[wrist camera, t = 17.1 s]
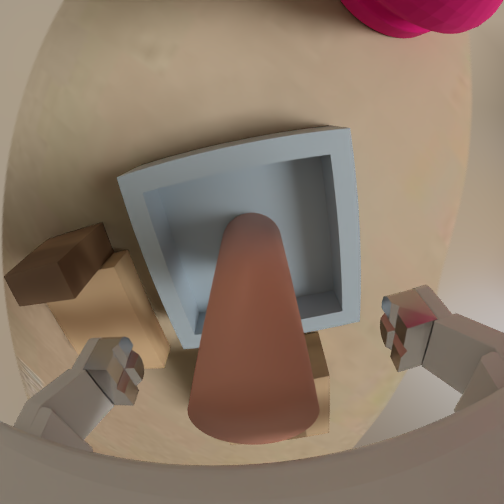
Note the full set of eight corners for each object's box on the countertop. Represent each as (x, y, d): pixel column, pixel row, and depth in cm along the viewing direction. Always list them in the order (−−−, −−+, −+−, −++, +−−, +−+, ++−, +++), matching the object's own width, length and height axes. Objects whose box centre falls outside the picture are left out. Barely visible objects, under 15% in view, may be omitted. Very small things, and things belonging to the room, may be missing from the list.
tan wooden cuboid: (171, 343, 20) (164, 368, 18) (98, 346, 21) (87, 367, 18) (130, 247, 16) (114, 267, 14) (53, 263, 17) (35, 281, 15)
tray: (345, 291, 17) (359, 321, 15) (191, 316, 18) (183, 349, 16) (330, 125, 13) (349, 128, 10) (140, 165, 14) (116, 177, 11)
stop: (113, 252, 16) (75, 298, 12) (59, 264, 17) (19, 306, 12) (102, 222, 15) (57, 262, 11) (48, 239, 16) (3, 276, 11)
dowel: (285, 261, 15) (320, 435, 6) (230, 271, 15) (210, 446, 6) (276, 207, 14) (317, 369, 5) (216, 219, 14) (167, 385, 5)
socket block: (321, 395, 22) (329, 432, 19) (232, 407, 23) (230, 444, 19) (318, 331, 19) (329, 375, 15) (205, 348, 20) (197, 392, 16)
